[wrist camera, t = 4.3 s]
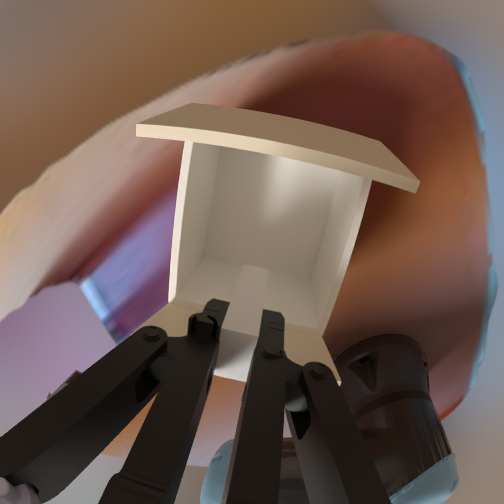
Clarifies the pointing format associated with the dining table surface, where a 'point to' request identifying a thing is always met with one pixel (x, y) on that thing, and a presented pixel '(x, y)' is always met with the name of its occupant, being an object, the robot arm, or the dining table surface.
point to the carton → (264, 230)
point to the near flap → (281, 140)
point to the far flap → (295, 343)
